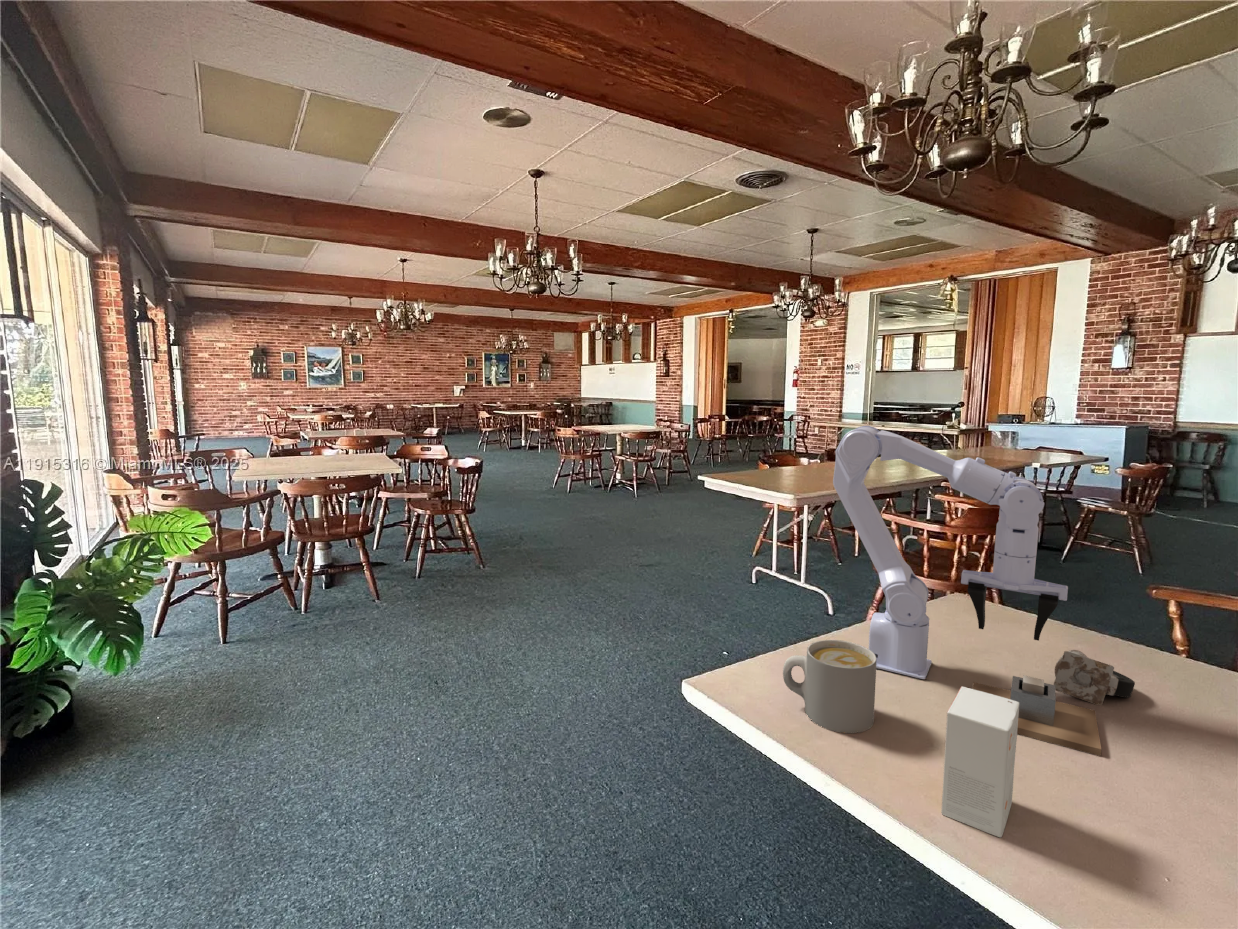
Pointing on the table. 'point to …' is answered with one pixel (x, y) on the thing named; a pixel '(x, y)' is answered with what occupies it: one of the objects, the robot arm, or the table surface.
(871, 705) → the coffee mug
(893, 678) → the table surface
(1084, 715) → the post board
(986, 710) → the small box
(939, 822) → the table surface
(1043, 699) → the square hub
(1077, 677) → the caster wheel
